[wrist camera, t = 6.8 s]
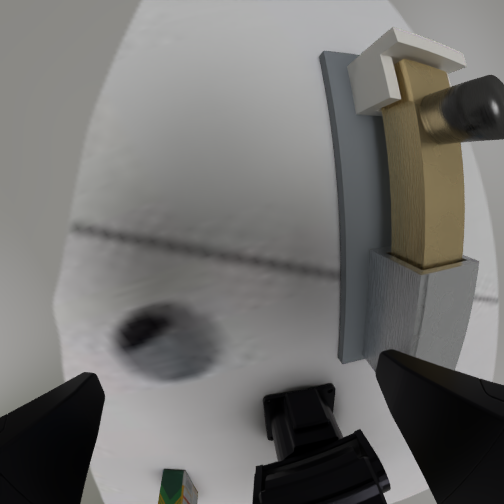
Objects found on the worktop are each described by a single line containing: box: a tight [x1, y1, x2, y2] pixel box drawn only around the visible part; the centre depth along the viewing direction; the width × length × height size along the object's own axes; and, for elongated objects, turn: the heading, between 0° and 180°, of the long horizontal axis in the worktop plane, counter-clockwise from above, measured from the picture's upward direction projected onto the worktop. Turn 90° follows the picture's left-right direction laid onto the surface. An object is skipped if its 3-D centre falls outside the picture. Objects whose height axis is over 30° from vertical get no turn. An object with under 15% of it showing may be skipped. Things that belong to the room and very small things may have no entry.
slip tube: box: [381, 59, 504, 270], centre depth 11 cm, size 14×4×9 cm, turn 6°
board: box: [319, 51, 392, 364], centre depth 18 cm, size 24×9×1 cm, turn 6°
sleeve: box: [362, 246, 479, 372], centre depth 16 cm, size 9×5×6 cm, turn 6°
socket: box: [347, 27, 467, 117], centre depth 13 cm, size 4×6×6 cm, turn 96°
